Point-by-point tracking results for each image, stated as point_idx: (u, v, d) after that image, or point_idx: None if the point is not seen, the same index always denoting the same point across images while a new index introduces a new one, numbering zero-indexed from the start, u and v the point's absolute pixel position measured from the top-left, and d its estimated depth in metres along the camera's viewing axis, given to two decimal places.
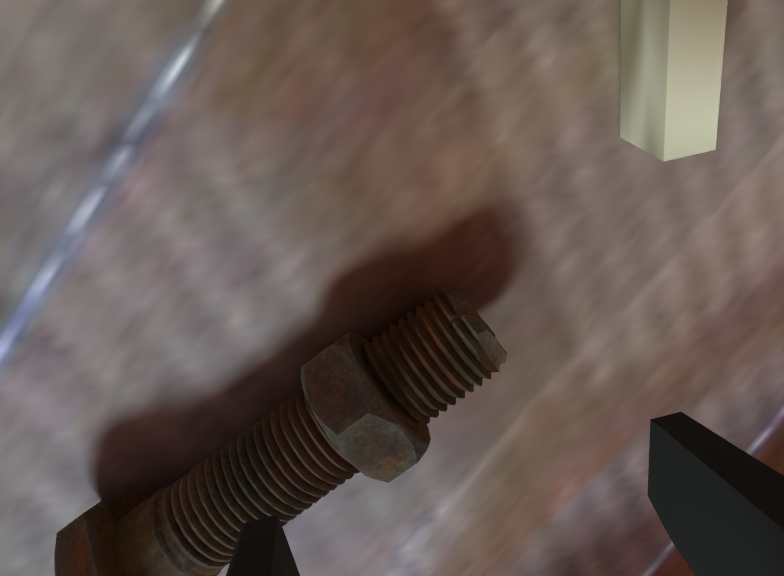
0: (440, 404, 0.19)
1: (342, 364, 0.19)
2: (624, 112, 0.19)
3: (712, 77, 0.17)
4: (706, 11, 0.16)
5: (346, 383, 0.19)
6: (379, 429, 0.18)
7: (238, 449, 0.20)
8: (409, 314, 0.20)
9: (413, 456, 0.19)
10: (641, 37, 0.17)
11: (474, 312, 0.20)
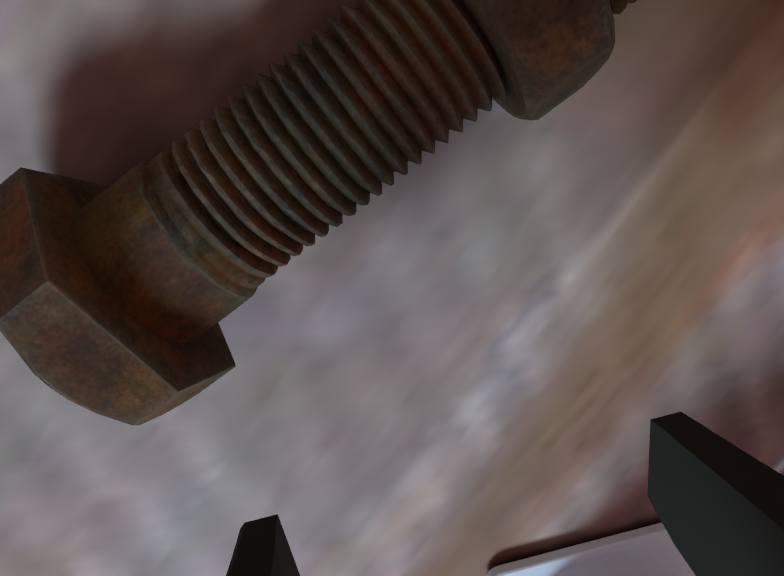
0: None
1: None
2: None
3: None
4: None
5: None
6: None
7: (286, 54, 0.12)
8: None
9: (602, 31, 0.11)
10: None
11: None
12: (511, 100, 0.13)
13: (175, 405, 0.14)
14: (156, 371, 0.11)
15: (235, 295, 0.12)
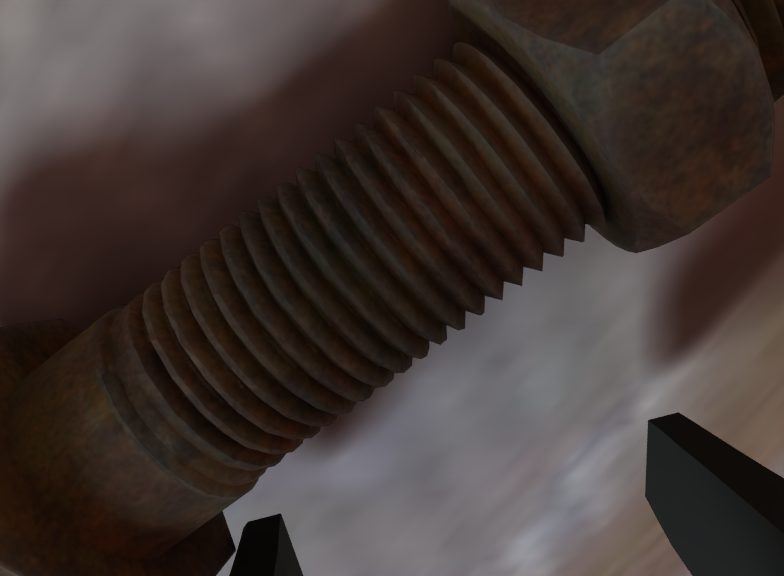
0: None
1: None
2: None
3: None
4: None
5: None
6: (707, 50, 0.07)
7: (300, 178, 0.08)
8: None
9: (764, 156, 0.07)
10: None
11: None
12: (607, 225, 0.09)
13: None
14: None
15: (233, 498, 0.09)
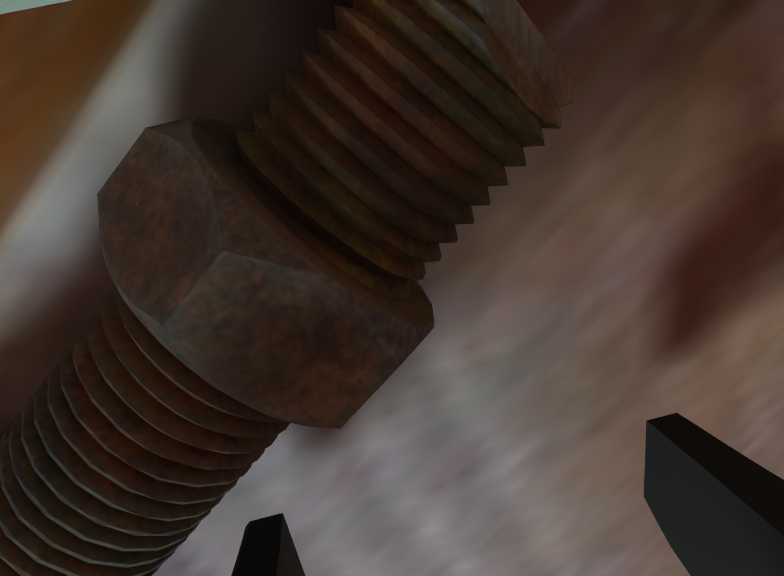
0: (430, 222, 0.08)
1: (167, 161, 0.08)
2: None
3: None
4: None
5: (175, 200, 0.07)
6: (270, 293, 0.07)
7: (22, 413, 0.09)
8: None
9: (383, 354, 0.08)
10: None
11: None
12: None
13: None
14: None
15: None
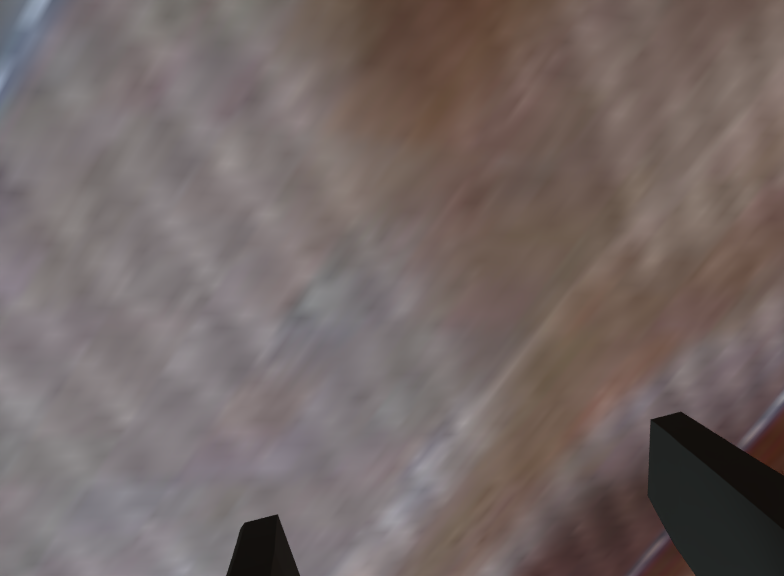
0: None
1: None
2: None
3: None
4: None
5: None
6: None
7: None
8: None
9: None
10: None
11: None
12: None
13: None
14: None
15: None
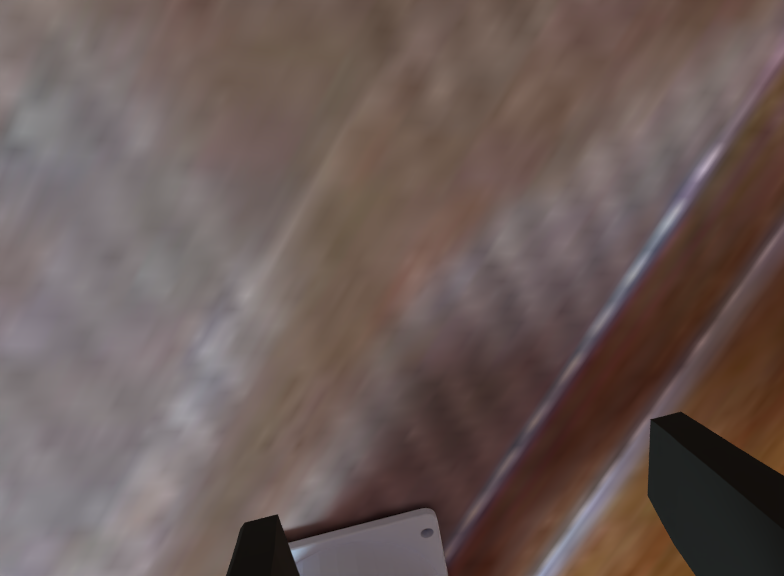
0: None
1: None
2: None
3: None
4: None
5: None
6: None
7: None
8: None
9: None
10: None
11: None
12: None
13: None
14: None
15: None
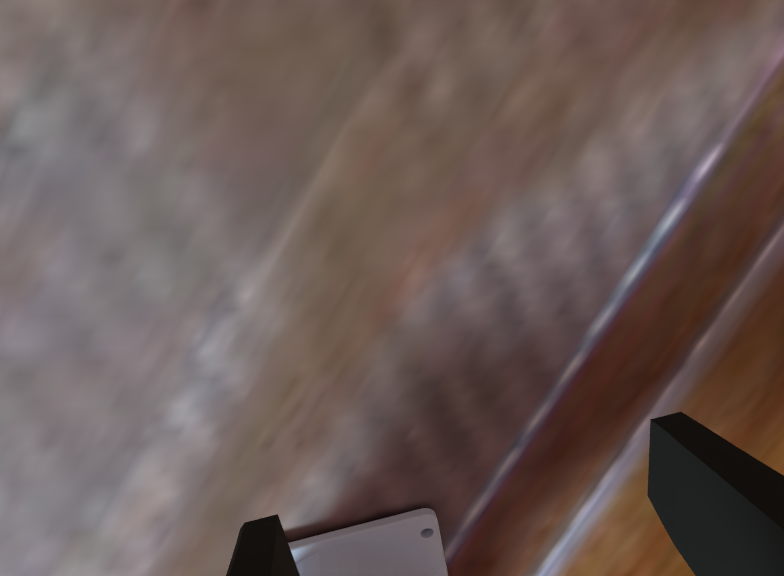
0: None
1: None
2: None
3: None
4: None
5: None
6: None
7: None
8: None
9: None
10: None
11: None
12: None
13: None
14: None
15: None
